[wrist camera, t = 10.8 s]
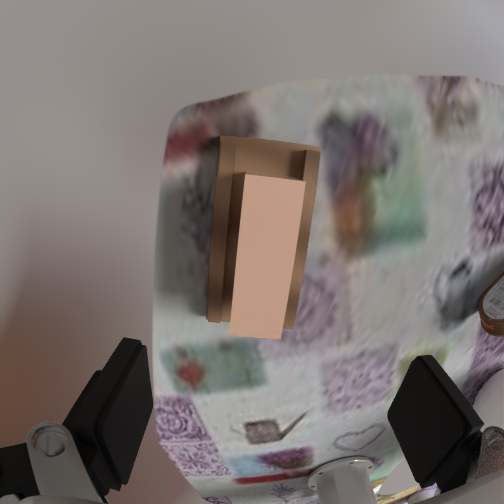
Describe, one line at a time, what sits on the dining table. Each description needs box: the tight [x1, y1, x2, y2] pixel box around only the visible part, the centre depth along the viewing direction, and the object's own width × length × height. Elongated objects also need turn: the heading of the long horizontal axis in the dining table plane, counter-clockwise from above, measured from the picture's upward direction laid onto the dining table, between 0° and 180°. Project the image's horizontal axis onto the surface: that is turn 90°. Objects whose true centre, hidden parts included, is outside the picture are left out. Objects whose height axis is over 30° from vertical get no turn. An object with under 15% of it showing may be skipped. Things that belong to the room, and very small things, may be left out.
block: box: [229, 172, 306, 339], centre depth 24 cm, size 4×12×7 cm, turn 174°
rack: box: [206, 135, 321, 329], centre depth 27 cm, size 18×9×2 cm, turn 174°
